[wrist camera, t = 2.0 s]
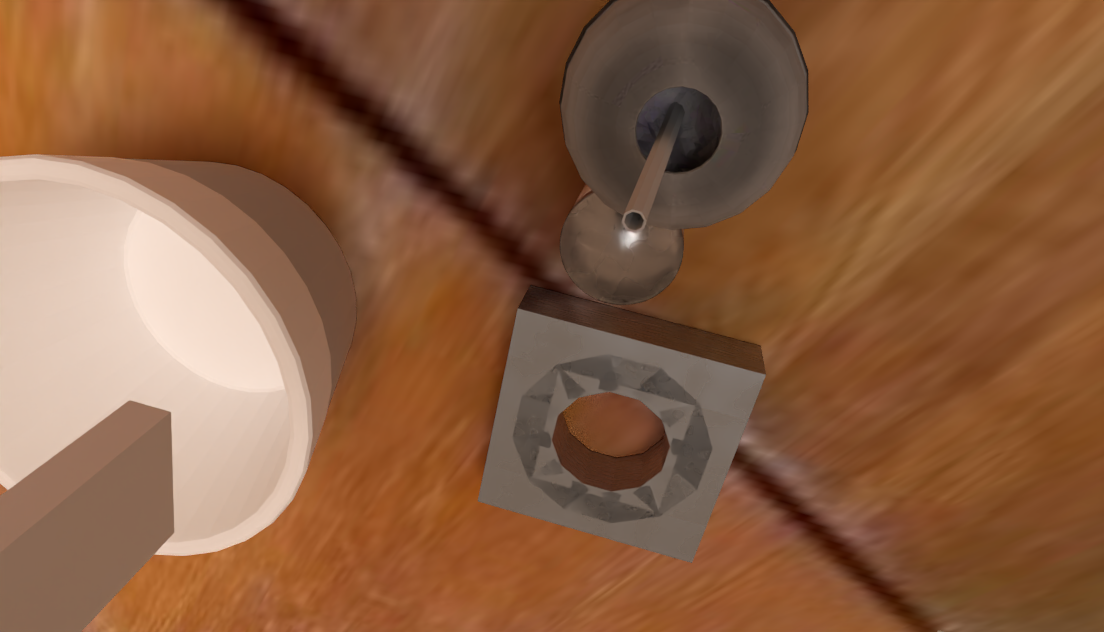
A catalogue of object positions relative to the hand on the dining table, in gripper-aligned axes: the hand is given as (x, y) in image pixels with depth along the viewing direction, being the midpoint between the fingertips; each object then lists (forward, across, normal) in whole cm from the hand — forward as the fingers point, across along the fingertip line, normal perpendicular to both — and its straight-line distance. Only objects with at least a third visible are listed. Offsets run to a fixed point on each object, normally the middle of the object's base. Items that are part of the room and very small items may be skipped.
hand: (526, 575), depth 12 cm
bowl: (+25, -20, -10) cm, 34 cm away
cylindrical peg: (+25, 0, 0) cm, 25 cm away
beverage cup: (+25, +1, +6) cm, 26 cm away
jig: (+25, +2, -12) cm, 28 cm away
